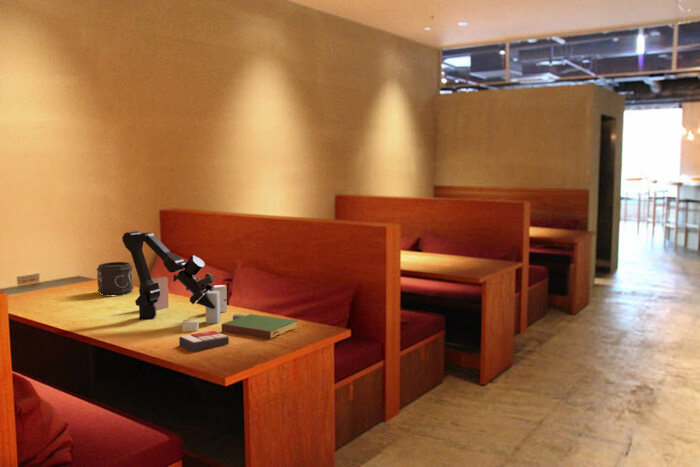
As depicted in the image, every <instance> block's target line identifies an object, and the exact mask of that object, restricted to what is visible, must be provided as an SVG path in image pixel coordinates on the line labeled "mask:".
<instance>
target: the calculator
mask: <svg viewBox="0 0 700 467" xmlns="http://www.w3.org/2000/svg"><path fill="white" fill-rule="evenodd" d="M229 338H230V337H229V336H228V335H227V334H223V333H221V332H218V331H216V330H211V331H204V332H203V331H202V332H198V333H191V334H188V335H187V334H186V335H182V336H179V338H178V339H179V344H178V345H179V347H181V348H182V349H184V350H187V351H189V352H192V353H195V352H196V353H197V352H200V351H199V350H201V351H204V350H207V349H206V348H208V349H213V348H212V347H214V348H217V347H216V346H218V347H221V345H222V346H226V345H229ZM203 349H204V350H203Z"/></svg>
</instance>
